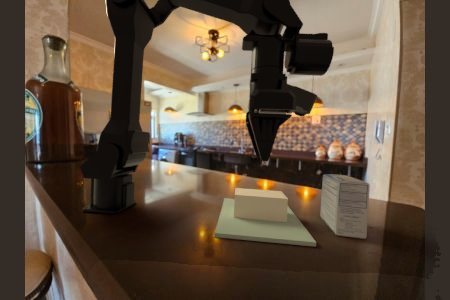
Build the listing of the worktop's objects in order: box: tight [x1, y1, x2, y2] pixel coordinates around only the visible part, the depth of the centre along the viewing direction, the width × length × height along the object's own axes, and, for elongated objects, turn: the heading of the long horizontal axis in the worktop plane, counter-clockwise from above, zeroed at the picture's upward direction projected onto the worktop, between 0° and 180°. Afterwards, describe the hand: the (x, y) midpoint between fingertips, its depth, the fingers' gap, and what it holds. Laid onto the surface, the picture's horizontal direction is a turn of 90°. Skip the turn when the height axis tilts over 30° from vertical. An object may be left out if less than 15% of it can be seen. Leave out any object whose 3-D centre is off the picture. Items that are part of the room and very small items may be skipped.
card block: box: [234, 187, 289, 222], centre depth 34 cm, size 5×9×4 cm, turn 85°
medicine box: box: [320, 173, 370, 240], centre depth 32 cm, size 8×4×9 cm, turn 168°
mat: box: [214, 197, 317, 247], centre depth 34 cm, size 14×17×1 cm
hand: (261, 158), depth 34 cm, fingers open, 9 cm apart
